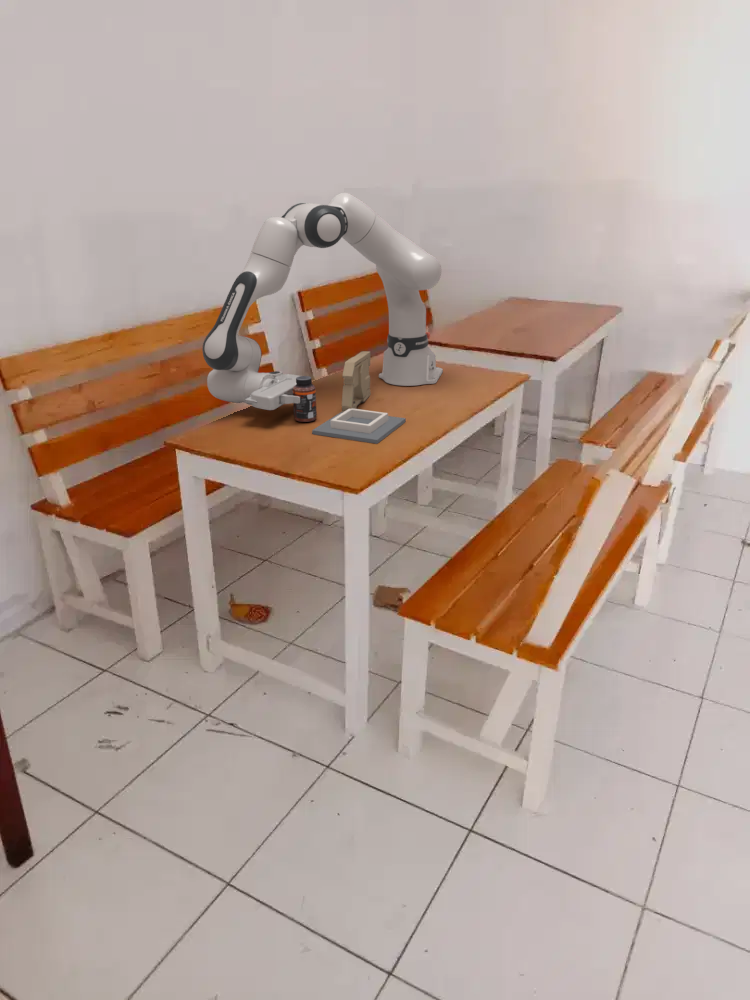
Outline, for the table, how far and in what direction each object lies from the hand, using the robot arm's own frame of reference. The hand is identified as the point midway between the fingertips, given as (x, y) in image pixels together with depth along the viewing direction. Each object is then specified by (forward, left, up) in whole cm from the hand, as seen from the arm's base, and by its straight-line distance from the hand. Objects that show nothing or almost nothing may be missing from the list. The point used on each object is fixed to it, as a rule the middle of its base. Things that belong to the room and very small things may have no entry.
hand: (307, 395), depth 205 cm
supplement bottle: (0, -1, -7) cm, 7 cm away
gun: (-17, +6, -7) cm, 19 cm away
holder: (0, +15, -7) cm, 17 cm away
